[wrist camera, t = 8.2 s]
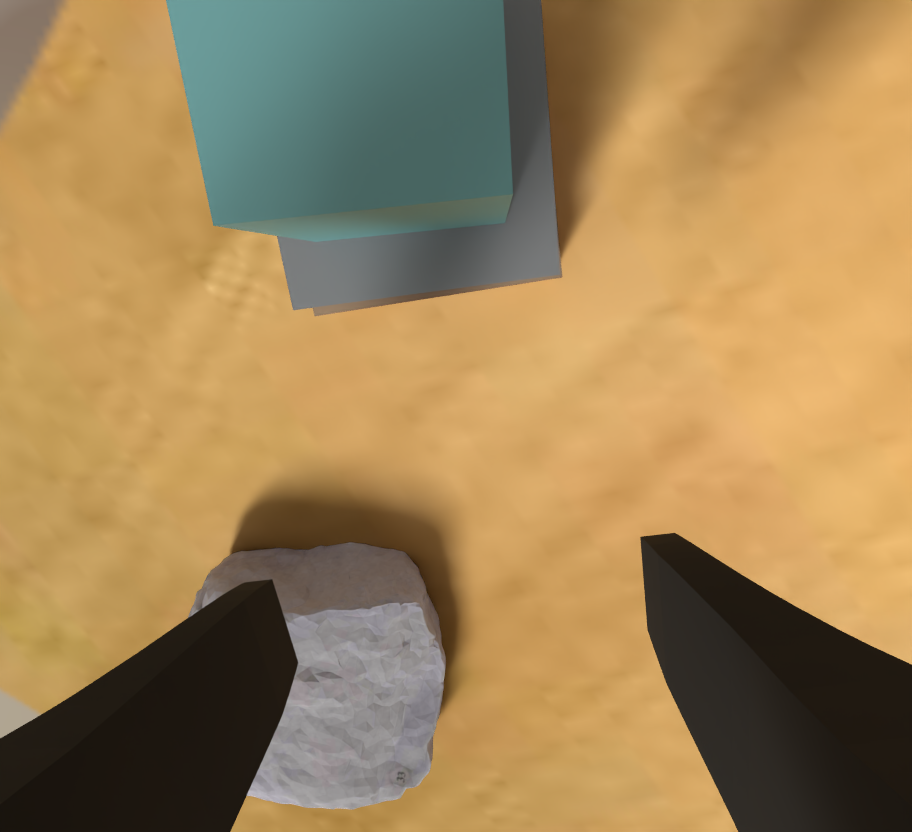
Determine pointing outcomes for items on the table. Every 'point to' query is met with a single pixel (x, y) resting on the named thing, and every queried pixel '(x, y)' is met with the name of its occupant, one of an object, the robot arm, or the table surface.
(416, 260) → the grey block
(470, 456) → the table surface
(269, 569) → the stone block
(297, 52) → the teal cube
